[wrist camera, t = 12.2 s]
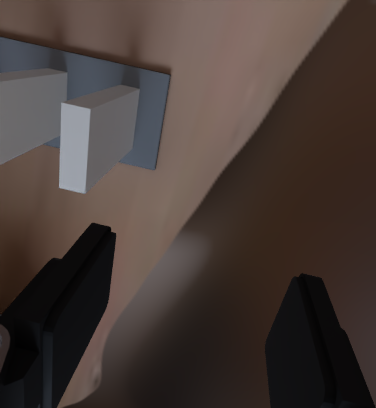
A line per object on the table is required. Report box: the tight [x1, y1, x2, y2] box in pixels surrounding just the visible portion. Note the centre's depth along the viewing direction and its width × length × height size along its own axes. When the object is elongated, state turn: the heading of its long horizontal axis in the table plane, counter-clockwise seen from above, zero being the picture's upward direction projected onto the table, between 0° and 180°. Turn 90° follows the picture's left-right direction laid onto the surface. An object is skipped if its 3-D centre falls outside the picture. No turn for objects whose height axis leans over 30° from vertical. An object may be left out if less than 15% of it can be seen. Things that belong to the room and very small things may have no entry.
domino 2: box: [59, 85, 140, 194], centre depth 23 cm, size 2×5×10 cm, turn 169°
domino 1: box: [0, 68, 67, 165], centre depth 23 cm, size 2×5×10 cm, turn 169°
